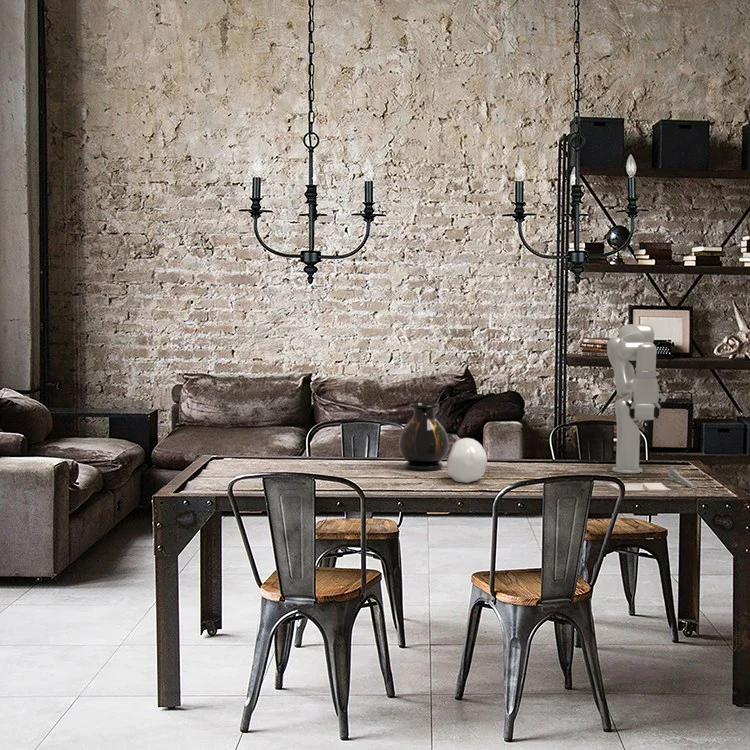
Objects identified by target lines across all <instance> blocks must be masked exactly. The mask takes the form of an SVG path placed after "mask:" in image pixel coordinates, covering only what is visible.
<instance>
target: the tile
mask: <svg viewBox="0 0 750 750" xmlns="http://www.w3.org/2000/svg"><path fill="white" fill-rule="evenodd" d="M642 483H643V488H644V489H645V490H644V491H646V492H648V493H668V491H669V490H668V489H667V488H668V487H667V488H666V486H665V485H664V484H663V483H662V482H642Z"/></svg>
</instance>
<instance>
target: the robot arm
mask: <svg viewBox="0 0 750 750" xmlns="http://www.w3.org/2000/svg"><path fill="white" fill-rule="evenodd" d="M654 340H655V330H654V328H653V327H652V325H650V324H645V323H644V324H635V323H634V324H630V323H629V324H625V325H623V326H621V328H620V329H619V331H618V336H616V337H612V338H610V339H609V340H608V341H607V344H606V353H607V356H608V357H607V358H608V361H609V363H610V365H611V367H612V369H613V374H614V383H615V390H616V393H617V395H618V397H620V398H619V399H617V400H616V402H615V405H614V411H615V417H616V419H615V420H616V453H615V454H616V455H615V456H616V457H615V466H613V467H612V471H613V472H614V473H622V474H641V473H643V468H641V467H640V443H641V442H640V437H641V431H640V428H639V427H638V425H637V424H636V423H635V421H653V420H655V419H659V417H660V409H661V407H662V406H664V404H665V402H666V400H667V397H666V396H665V395H663V394H661V393H660V392H659V384H658V379H657V376H659V375H660V373H659V372H658V371H656V370H657V369H656V368H657V366H656V365H657V352H658V350H657V346H656V345H655V344H654ZM630 361H636V363H635V368H634V365H633V364H632V363H631V362H630ZM659 399H660V401H659ZM640 472H641V473H640Z"/></svg>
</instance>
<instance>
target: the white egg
mask: <svg viewBox="0 0 750 750" xmlns="http://www.w3.org/2000/svg"><path fill="white" fill-rule="evenodd" d="M446 463H447V464H446V465H447V469H446V470H447V474H448V476H449V477H450V478H452V479H453V480H454V481H455V482H457V483H466V484H469V483H472V482H473V483H474V482H475V481H478V480H479V479H481V478H482V477H483V476H484V474H485V472H486V468H487V463H488V456H487V453H486V451H485V449H484V447H483V445H482V444H481V443H480V442H479V441H478V440H476V439H475V438H470V437H463V438H459V439H458V440H457V441H455V442H454V443H453V444H452V446H451V449H450V452H449V454H448V458H447V462H446Z"/></svg>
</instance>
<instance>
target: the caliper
mask: <svg viewBox="0 0 750 750" xmlns="http://www.w3.org/2000/svg"><path fill="white" fill-rule="evenodd" d="M675 480H677V481H680V482H682V483H683V484H684V485H686V486H687V487H688V488H690V487H691V488H690V489H693V488H696V486H695V485H694V484H693V483H692V482H690V481H689V480H687V479H686V478H685V477H683V476H682V475H681V473H679V472H678V471H677V470H675V466H673V465H671V466H670V468H669V471H668V481H671V482H675Z"/></svg>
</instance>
